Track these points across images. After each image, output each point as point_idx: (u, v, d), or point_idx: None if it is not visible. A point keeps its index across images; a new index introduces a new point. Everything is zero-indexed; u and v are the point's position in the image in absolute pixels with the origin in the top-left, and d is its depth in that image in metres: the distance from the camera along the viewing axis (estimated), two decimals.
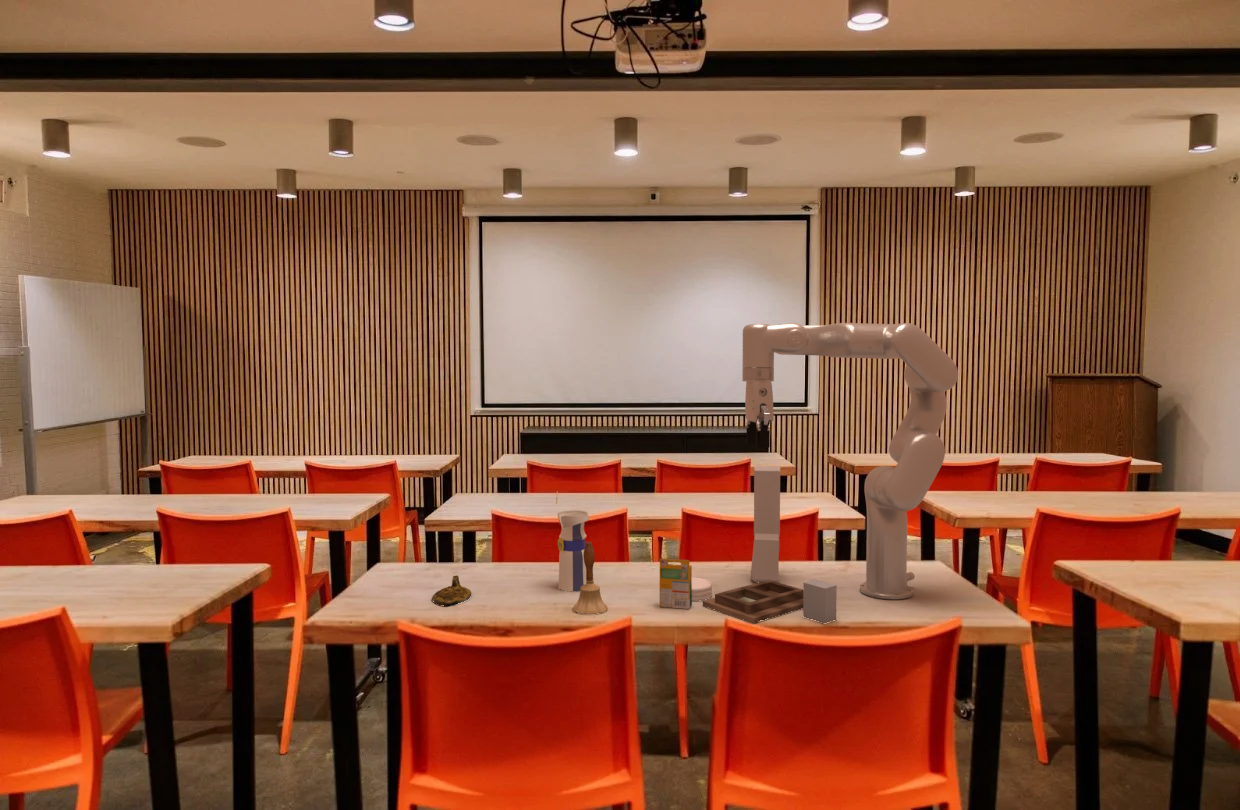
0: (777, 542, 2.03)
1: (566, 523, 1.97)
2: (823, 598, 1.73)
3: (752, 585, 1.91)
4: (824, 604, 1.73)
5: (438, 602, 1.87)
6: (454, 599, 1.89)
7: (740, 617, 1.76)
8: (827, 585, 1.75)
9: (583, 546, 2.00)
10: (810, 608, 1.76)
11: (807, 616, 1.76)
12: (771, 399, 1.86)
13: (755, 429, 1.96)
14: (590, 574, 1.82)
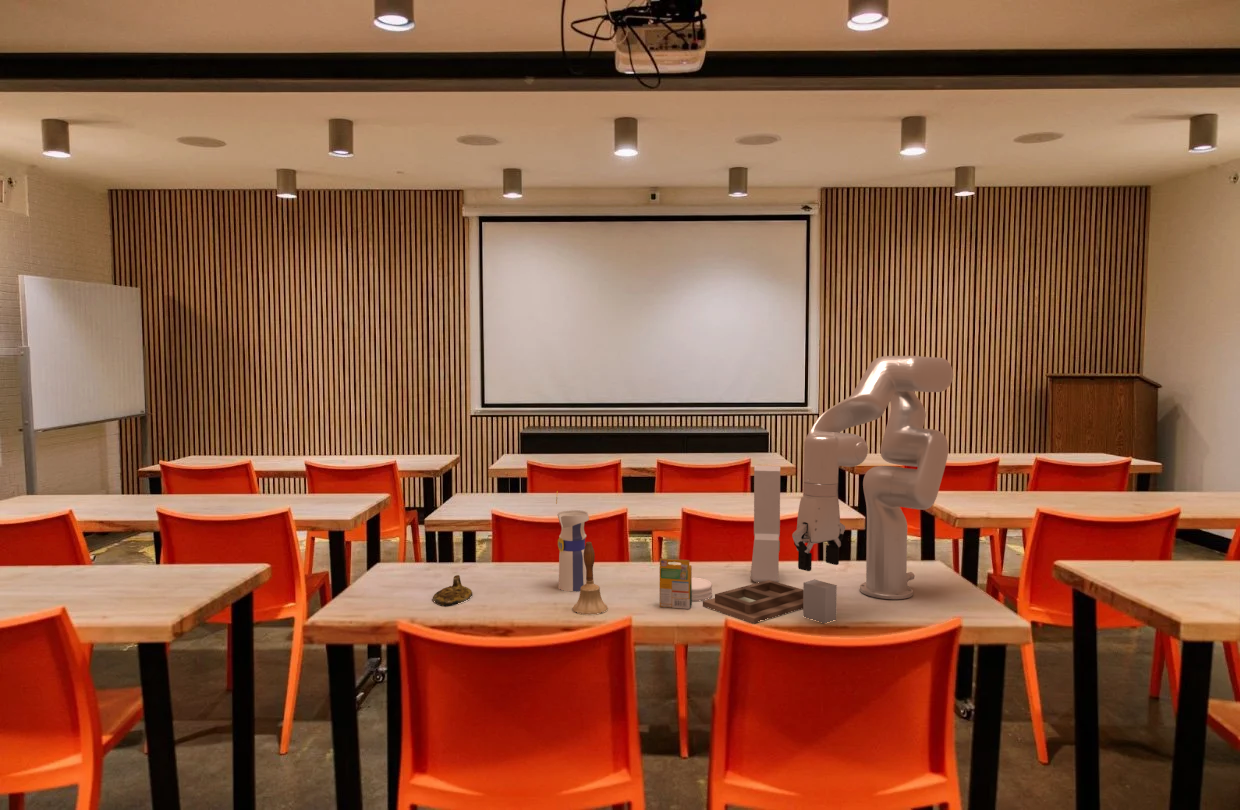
0: (777, 542, 2.03)
1: (566, 523, 1.97)
2: (823, 598, 1.73)
3: (752, 585, 1.91)
4: (824, 604, 1.73)
5: (438, 602, 1.87)
6: (454, 598, 1.89)
7: (740, 617, 1.76)
8: (827, 585, 1.75)
9: (583, 546, 2.00)
10: (810, 608, 1.76)
11: (807, 616, 1.76)
12: None
13: None
14: (590, 574, 1.82)
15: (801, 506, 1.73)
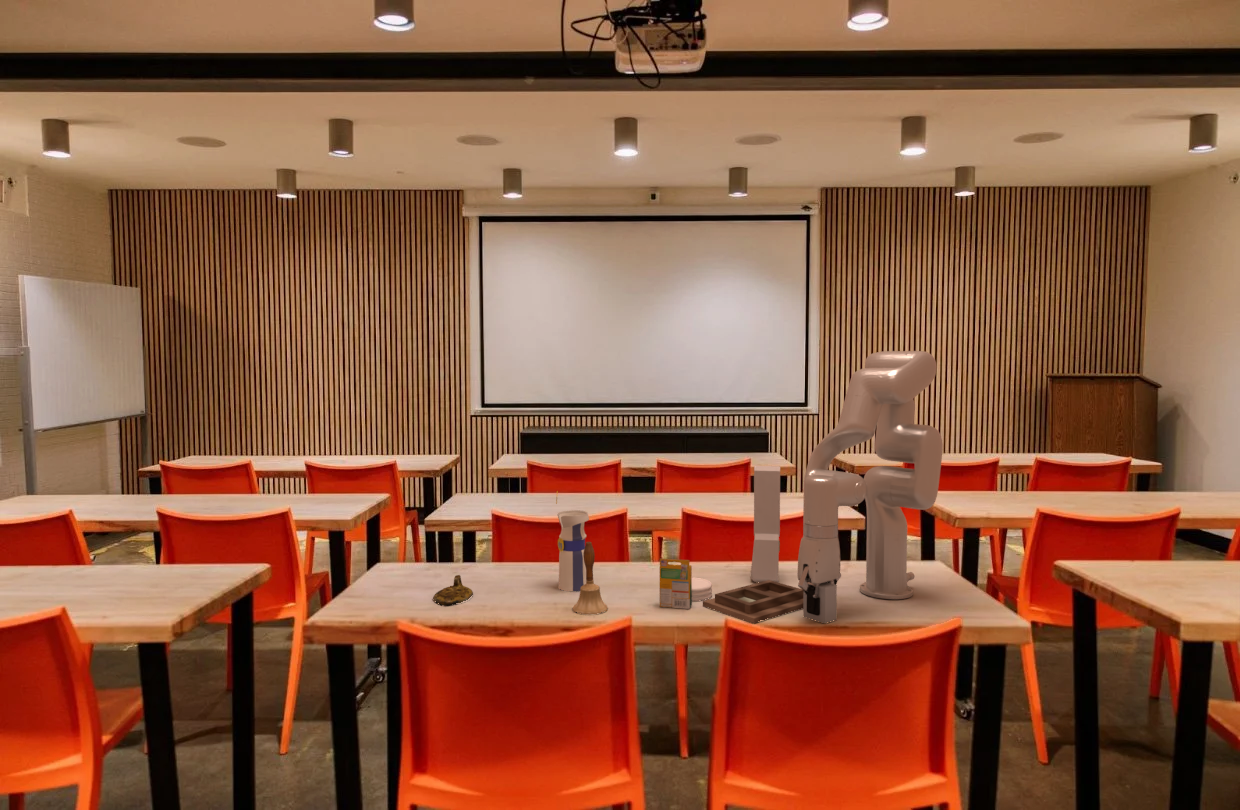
0: (777, 542, 2.03)
1: (566, 523, 1.97)
2: (823, 598, 1.73)
3: (752, 585, 1.91)
4: (824, 604, 1.73)
5: (439, 601, 1.88)
6: (454, 598, 1.89)
7: (740, 617, 1.76)
8: (827, 584, 1.75)
9: (583, 546, 2.00)
10: None
11: (807, 616, 1.76)
12: None
13: None
14: (590, 574, 1.82)
15: (801, 547, 1.73)
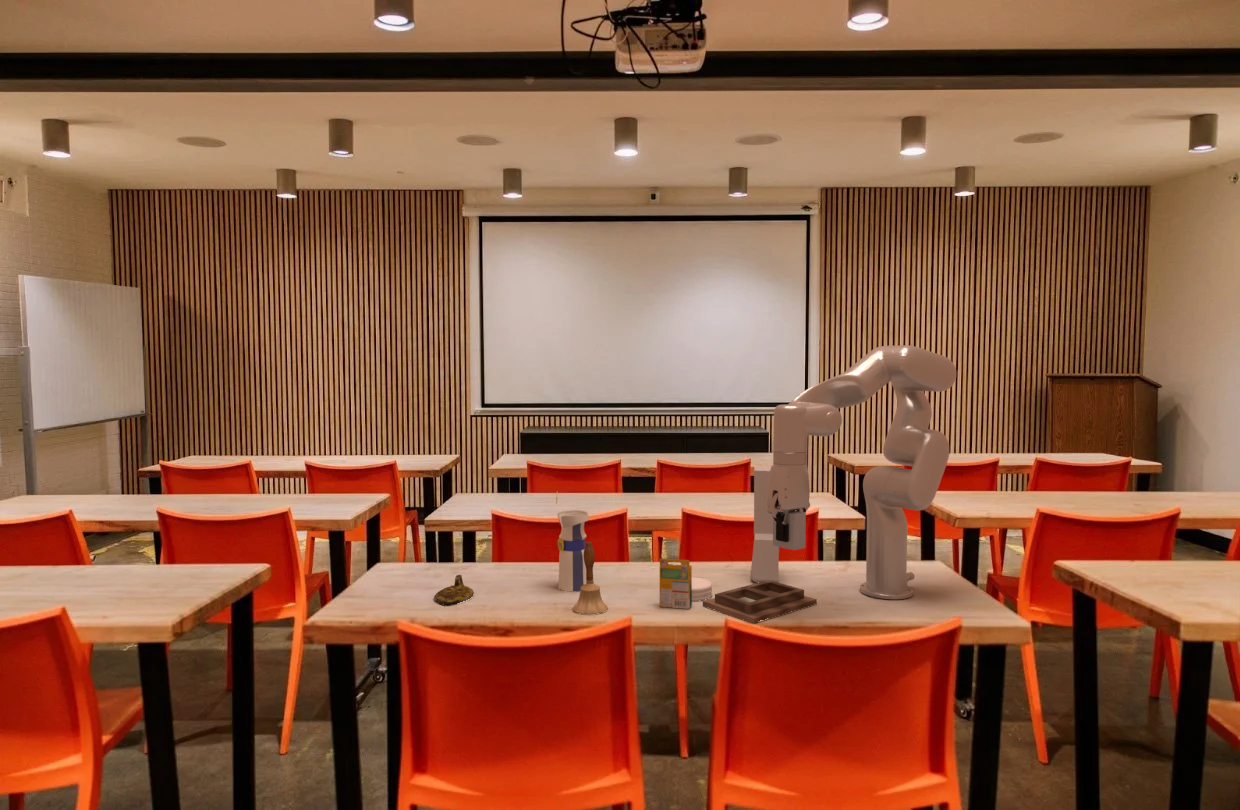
0: None
1: (566, 523, 1.97)
2: (792, 524, 1.75)
3: (752, 585, 1.91)
4: (793, 530, 1.74)
5: (439, 601, 1.88)
6: (455, 598, 1.89)
7: (740, 617, 1.76)
8: (796, 512, 1.76)
9: (583, 546, 2.00)
10: None
11: (777, 544, 1.78)
12: None
13: None
14: (590, 574, 1.82)
15: (771, 474, 1.75)
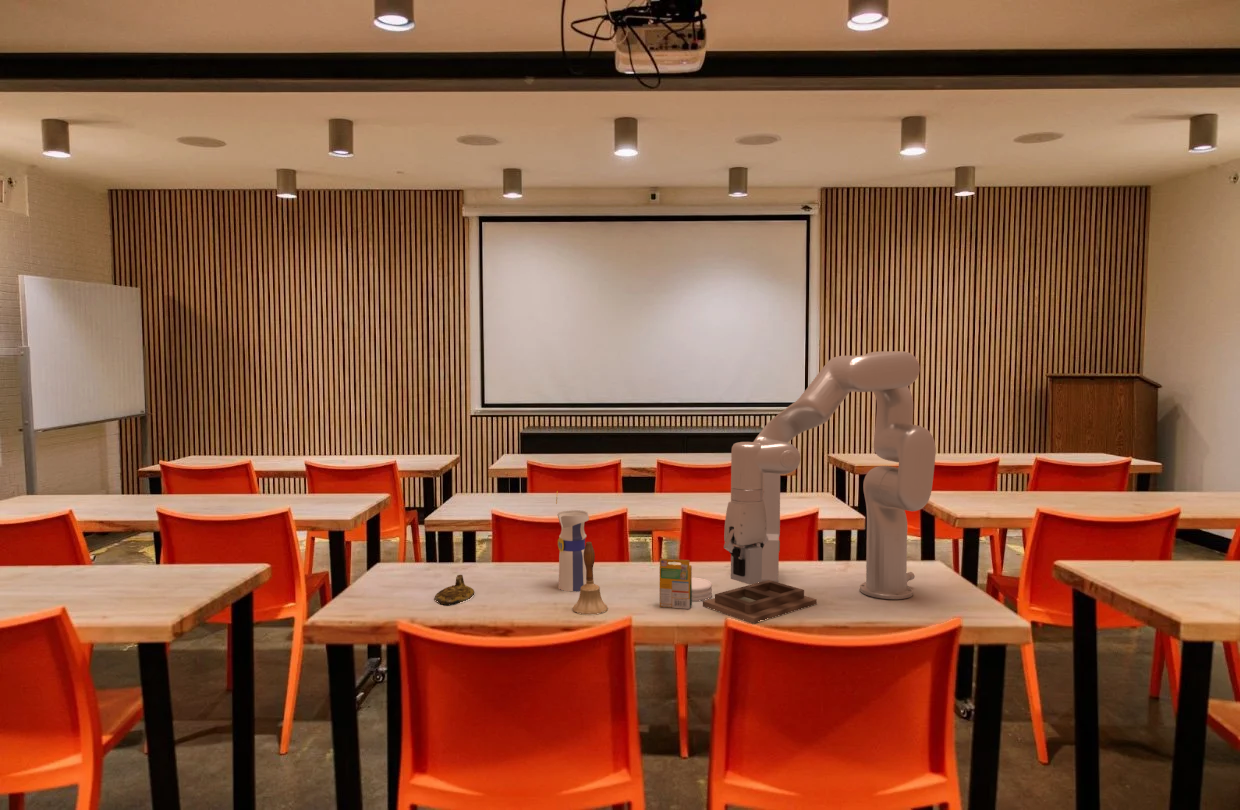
0: (777, 542, 2.03)
1: (566, 523, 1.97)
2: (748, 559, 1.79)
3: (752, 585, 1.91)
4: (749, 565, 1.79)
5: (440, 601, 1.88)
6: (455, 598, 1.89)
7: (740, 617, 1.76)
8: (752, 547, 1.81)
9: (583, 546, 2.00)
10: None
11: (734, 577, 1.83)
12: None
13: None
14: (590, 574, 1.82)
15: (728, 511, 1.80)
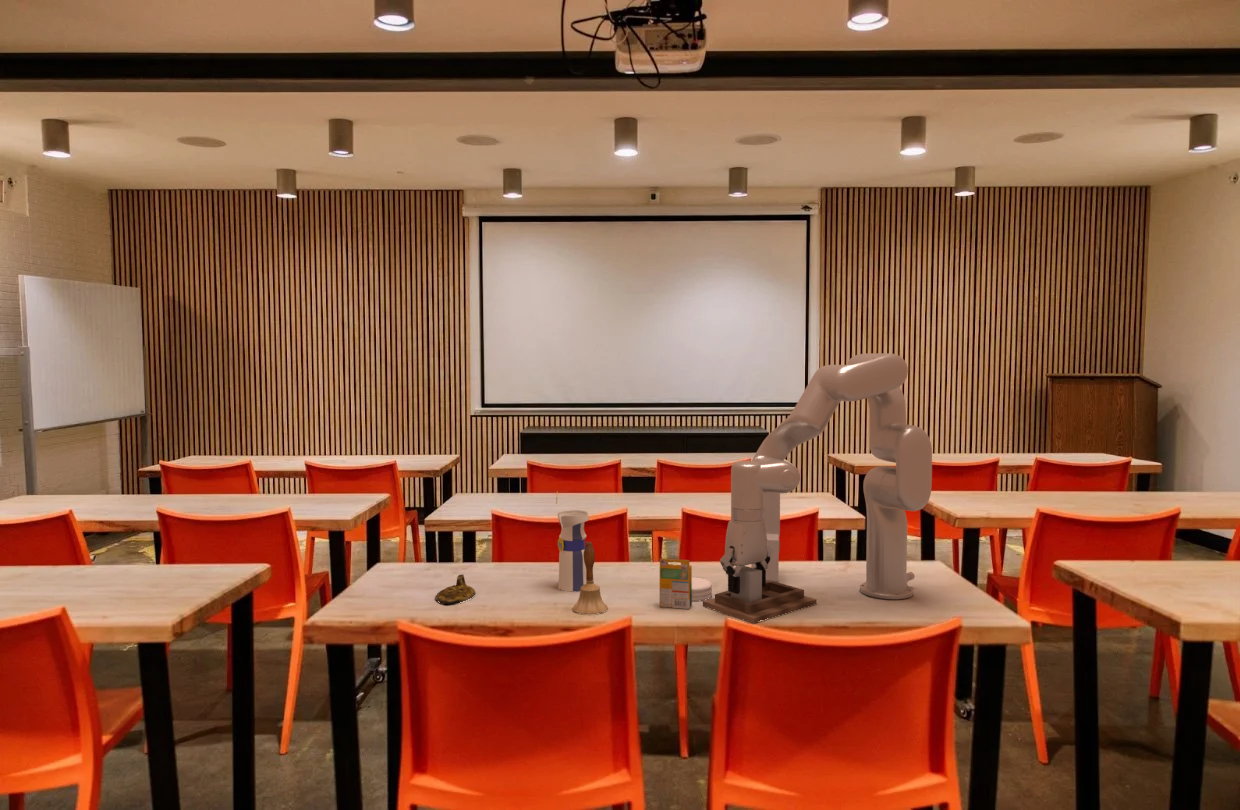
0: (777, 542, 2.03)
1: (566, 523, 1.97)
2: (748, 583, 1.80)
3: None
4: (749, 588, 1.80)
5: (440, 601, 1.88)
6: (456, 598, 1.90)
7: (740, 617, 1.76)
8: (752, 570, 1.82)
9: (583, 546, 2.00)
10: None
11: None
12: None
13: None
14: (590, 574, 1.82)
15: (728, 530, 1.80)
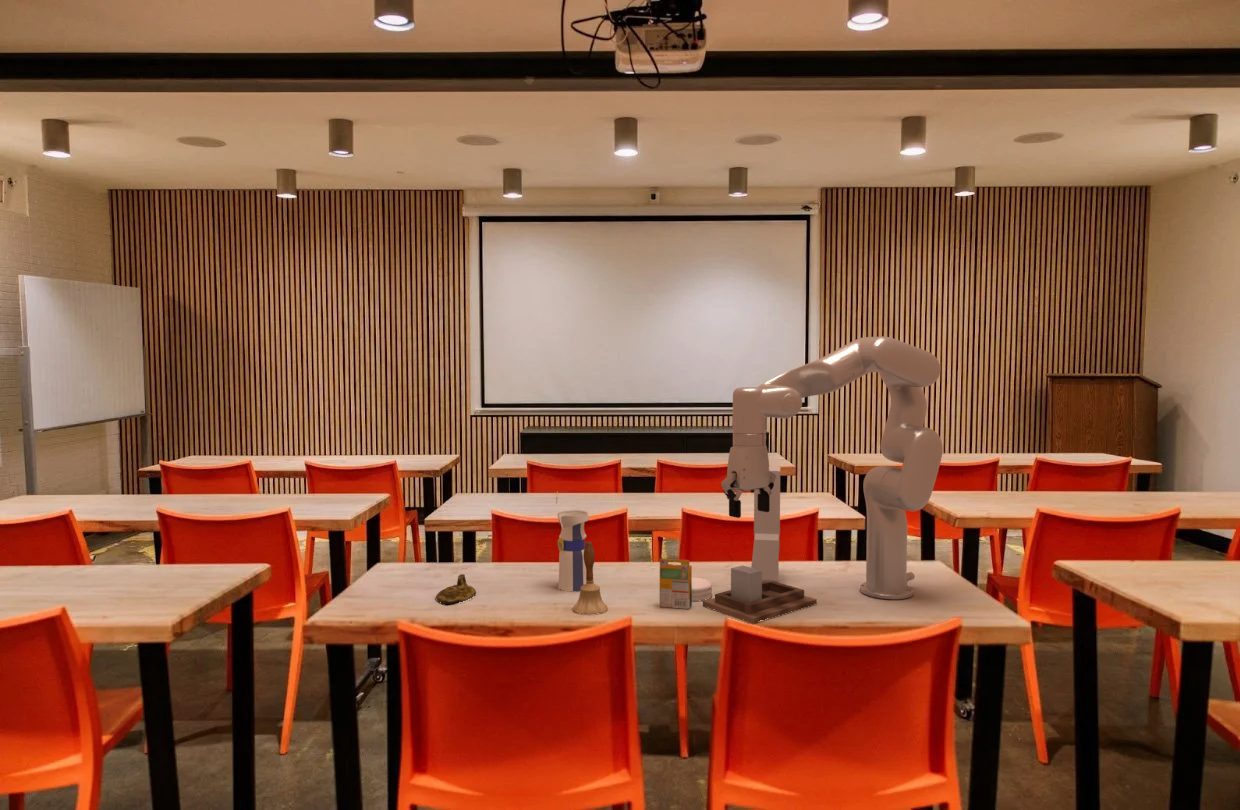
0: (777, 542, 2.03)
1: (566, 523, 1.97)
2: (748, 583, 1.80)
3: None
4: (749, 588, 1.80)
5: (440, 600, 1.89)
6: (456, 597, 1.90)
7: (740, 617, 1.76)
8: (752, 570, 1.82)
9: (583, 546, 2.00)
10: (736, 592, 1.83)
11: None
12: None
13: None
14: (590, 574, 1.82)
15: (730, 456, 1.79)
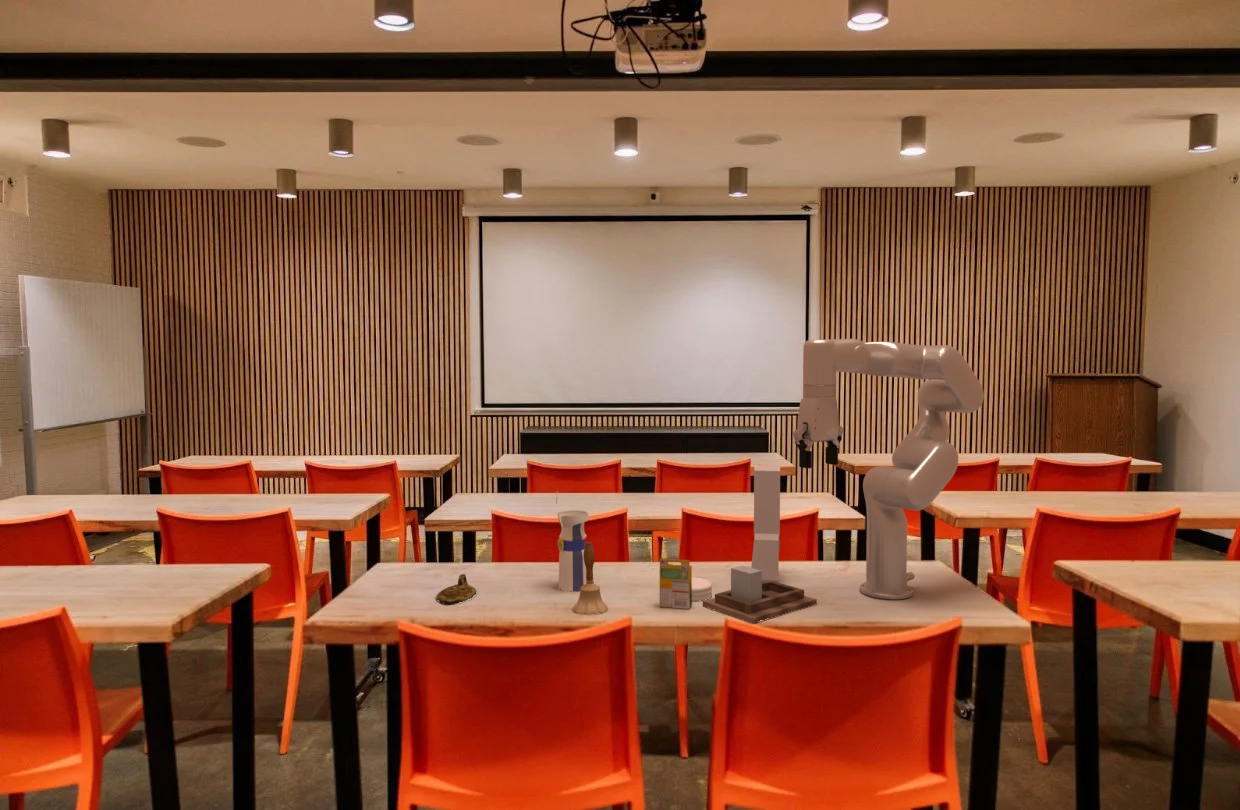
0: (777, 542, 2.03)
1: (566, 523, 1.97)
2: (748, 583, 1.80)
3: None
4: (749, 588, 1.80)
5: (440, 600, 1.89)
6: (456, 597, 1.90)
7: (740, 617, 1.76)
8: (752, 570, 1.82)
9: (583, 546, 2.00)
10: (736, 592, 1.83)
11: None
12: None
13: None
14: (590, 574, 1.82)
15: (801, 407, 1.81)
